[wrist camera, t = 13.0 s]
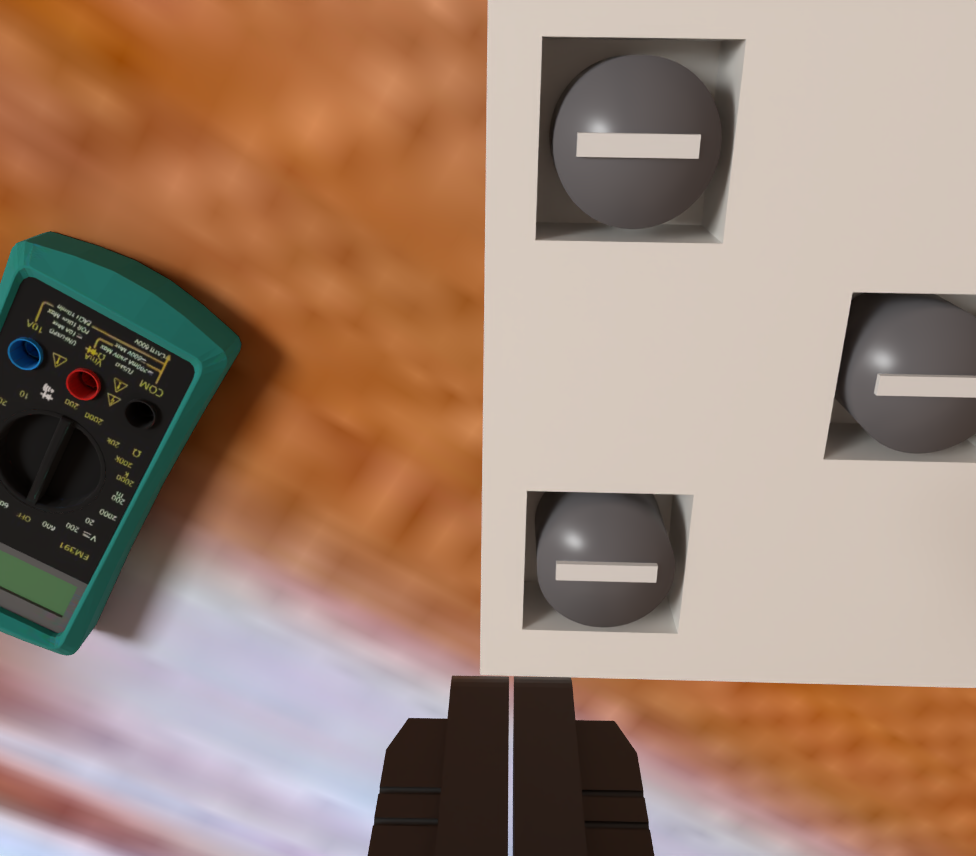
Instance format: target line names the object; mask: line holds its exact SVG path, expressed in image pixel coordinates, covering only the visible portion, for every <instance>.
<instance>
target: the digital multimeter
mask: <svg viewBox="0 0 976 856" xmlns="http://www.w3.org/2000/svg"><path fill="white" fill-rule="evenodd" d="M240 348H241V342H240V339H239V336H237V335H236V334H235V333H234V332H233V331H232V330H231V329H230V328H229V327H227V326H226V325H225V324H224V323H223V322H222V321H221V320H220V319H218V318H217V317H216V316H215V315H214V314H213V313H212V312H211V311H209V310H208V309H207V308H206V307H205V306H204V305H203V304H201V303H200V302H199V301H197V300H196V299H195V298H193V297H192V296H191V295H189V294H188V293H187V292H185V291H184V290H183V289H182V288H180V287H179V286H178V285H176V284H175V283H174V282H172V281H171V280H169V279H167V278H166V277H164V276H162V275H160V274H159V273H157V272H155V271H153V270H152V269H150V268H148V267H146V266H144V265H143V264H141V263H139V262H137V261H135V260H133V259H130V258H128V257H125V256H123V255H120V254H118V253H115V252H112V251H110V250H107V249H105V248H102V247H100V246H97V245H94V244H90V243H87V242H84V241H81V240H77V239H74V238H71V237H68V236H64V235H61V234H58V233H54V232H51V231H50V232H46V233H42V234H39V235H37V236H34V237H31V238H29V239H26V240H23V241H21V242H18V243H16V245H15V246H14V247H13V248H12V250H11V253H10V256H9V259H8V262H7V265H6V268H5V271H4V274H3V277H2V280H1V283H0V481H1V482H2V483H1V482H0V631H1V632H3V633H6V634H8V635H11V636H13V637H16V638H18V639H21V640H23V641H26V642H29V643H31V644H34V645H37V646H39V647H42V648H45V649H48V650H50V651H53V652H56V653H59V654H62V655H72V654H74V653H75V652H76V651H77V650H78V649H79V648H80V646H81V645H82V643H83V642H84V641H85V639H86V638H87V637H88V635H89V634H90V632H91V631H92V630H93V628H94V627H95V625H96V624H97V622H98V620H99V617H100V615H101V613H102V611H103V609H104V606H105V604H106V602H107V600H108V598H109V595H110V593H111V591H112V589H113V586H114V584H115V582H116V580H117V578H118V575H119V573H120V571H121V569H122V567H123V564H124V562H125V560H126V558H127V556H128V553H129V551H130V549H131V547H132V545H133V543H134V541H135V539H136V537H137V535H138V533H139V531H140V529H141V527H142V525H143V523H144V521H145V519H146V517H147V515H148V513H149V511H150V509H151V507H152V505H153V503H154V501H155V499H156V497H157V495H158V493H159V491H160V489H161V487H162V485H163V483H164V481H165V480H166V478H167V476H168V474H169V472H170V471H171V469H172V467H173V465H174V464H175V462H176V460H177V458H178V457H179V455H180V453H181V451H182V449H183V448H184V446H185V444H186V442H187V441H188V439H189V437H190V435H191V433H192V432H193V430H194V428H195V426H196V425H197V423H198V421H199V419H200V417H201V416H202V414H203V412H204V410H205V409H206V407H207V405H208V404H209V402H210V400H211V399H212V397H213V395H214V394H215V392H216V390H217V389H218V387H219V385H220V384H221V382H222V380H223V379H224V377H225V375H226V374H227V372H228V370H229V369H230V367H231V365H232V364H233V362H234V360H235V359H236V357H237V355H238V354H239V352H240ZM191 381H192V382H191ZM190 383H191V384H190ZM189 385H190V386H189ZM188 387H189V388H188ZM187 389H188V390H187ZM186 391H187V392H186ZM185 393H186V394H185ZM184 395H185V396H184ZM183 397H184V398H183ZM182 399H183V400H182ZM181 401H182V402H181ZM180 403H181V404H180ZM179 405H180V406H179ZM178 407H179V408H178ZM34 409H36V410H34ZM177 409H178V410H177ZM26 410H27V411H26ZM22 411H23V412H22ZM176 411H177V412H176ZM175 413H176V414H175ZM174 415H175V416H174ZM173 417H174V418H173ZM5 419H6V420H5ZM172 419H173V420H172ZM4 420H5V421H4ZM171 421H172V422H171ZM170 423H171V424H170ZM166 430H167V431H166ZM165 432H166V433H165ZM164 434H165V435H164ZM163 436H164V437H163ZM162 438H163V439H162ZM161 440H162V441H161ZM160 442H161V443H160ZM159 444H160V445H159ZM158 446H159V447H158ZM157 448H158V449H157ZM156 450H157V451H156ZM155 452H156V453H155ZM154 454H155V455H154ZM153 456H154V457H153ZM105 472H106V475H105ZM142 477H143V478H142ZM141 479H142V480H141ZM104 481H105V482H104ZM140 481H141V482H140ZM139 483H140V484H139ZM2 484H3V485H4V486H5V487H4V486H3V485H2ZM138 485H139V486H138ZM137 487H138V488H137ZM101 489H102V490H101ZM100 491H101V492H100ZM14 496H15V497H14ZM96 497H97V498H96ZM95 498H96V499H95ZM18 499H19V500H18ZM21 501H22V502H21ZM26 504H27V505H26ZM28 505H29V506H28ZM30 506H31V507H30ZM35 508H36V509H35ZM81 508H82V509H81ZM38 509H39V510H38ZM41 510H42V511H41ZM72 511H73V512H72ZM50 512H52V513H50ZM118 524H119V525H118ZM117 526H118V527H117ZM116 528H117V529H116ZM115 530H116V531H115ZM114 532H115V533H114ZM113 534H114V535H113ZM112 536H113V537H112ZM111 538H112V539H111ZM94 571H95V572H94ZM93 573H94V574H93ZM92 575H93V576H92ZM91 577H92V578H91Z"/></svg>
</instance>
